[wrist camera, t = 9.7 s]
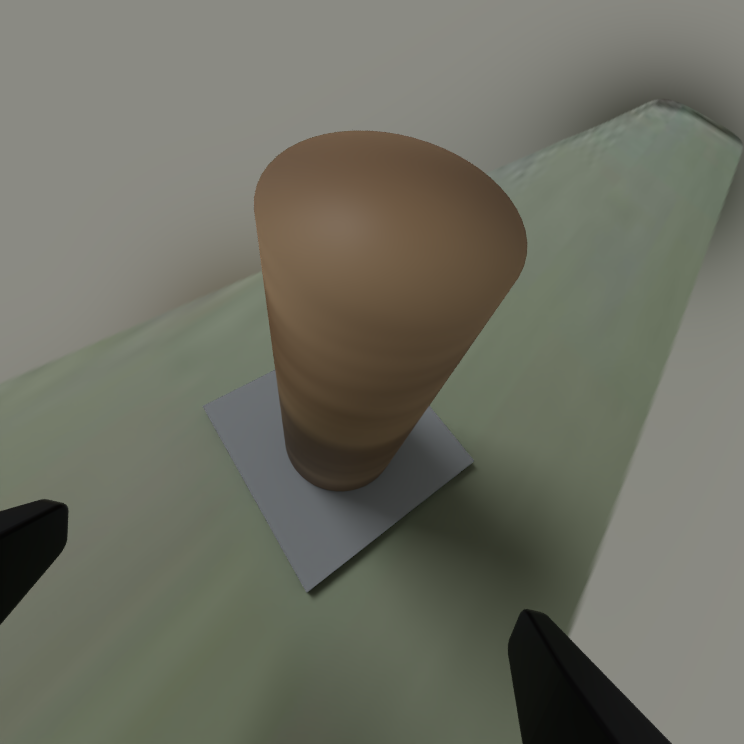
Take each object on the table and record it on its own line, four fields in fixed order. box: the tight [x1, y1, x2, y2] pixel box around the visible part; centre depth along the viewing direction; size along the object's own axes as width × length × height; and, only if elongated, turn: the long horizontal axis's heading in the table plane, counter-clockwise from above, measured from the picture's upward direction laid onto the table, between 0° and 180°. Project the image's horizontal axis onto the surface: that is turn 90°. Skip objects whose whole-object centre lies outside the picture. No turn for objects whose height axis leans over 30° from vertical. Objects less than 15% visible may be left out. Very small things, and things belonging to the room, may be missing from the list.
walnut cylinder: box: [254, 131, 527, 491], centre depth 12 cm, size 5×5×12 cm
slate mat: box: [203, 370, 474, 592], centre depth 17 cm, size 9×9×1 cm
